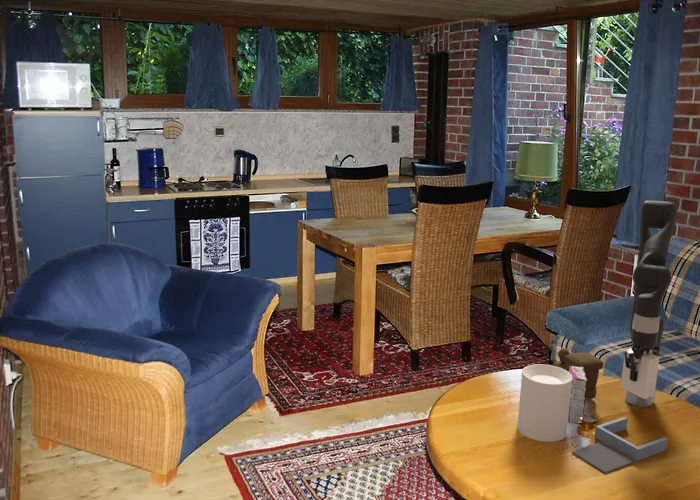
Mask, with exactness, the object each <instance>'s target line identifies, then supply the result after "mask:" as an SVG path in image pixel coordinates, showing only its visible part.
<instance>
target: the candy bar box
mask: <svg viewBox="0 0 700 500" xmlns="http://www.w3.org/2000/svg"><path fill="white" fill-rule="evenodd" d="M569 373H570V374H571V375H572V388H571V397H570V407H569V416H568V423H570V424H579V423H578V422H579V418H580V417H583V418H584V414H585V404H586V400H585V395H586V385H587V379H586V375H585V372H584V368H583V367H577V366H569Z"/></svg>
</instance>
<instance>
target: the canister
mask: <svg viewBox="0 0 700 500" xmlns="http://www.w3.org/2000/svg"><path fill="white" fill-rule="evenodd" d="M520 379H521V381H520V384H521V385H520V391H519V392H520V393H519V403H518V405H519V406H518V416H517V430H518V431H519V433H521V434H522V435H523V436H524V437H527V438H529V439H531V440H535V441H536V442H537V441H538V442H544V443H546V442H547V443H553V442H558V441H561V440H564V439H565V438H566V436H567V434H568V424H569V421H568V416H569V407H570V397H571V388H572V375H571V374H570V373H569V372H568V371H566V370H564V369H562V368H559V367H556V366H553V364H552V365H551V364H540V363H539V364H537V363H535V364H529V365H527V366H525V367H523V369H522V371H521V378H520Z"/></svg>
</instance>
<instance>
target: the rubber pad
mask: <svg viewBox="0 0 700 500" xmlns="http://www.w3.org/2000/svg"><path fill="white" fill-rule="evenodd" d="M571 454H572V455H574V456H576V457H577V458H579V459H581V460H582V461H584V462H585V463H587V464H589V465H590V466H592V467H593V468H595V469H596V470H598V471H600V472H602V473H604V474H607V473H608V474H609V473H611V472H613V471H616V470H619V469H622V468H624V467H628V466H629V465H632V464H635V463H636V461H635V460H634V459H632V458H630V457H628V456H627V455H625V454H623V453H621V452H619V451H618V450H616V449H614V448H612V447H611V446H609V445H607V444H605V443H604V442H602V441H599V442H596V443H593V444H589V445H587V446H584V447H580V448H578V449H575V450H572V451H571Z"/></svg>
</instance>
